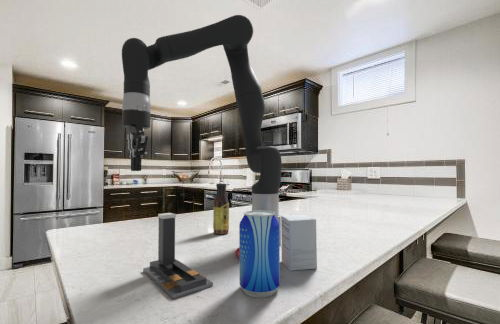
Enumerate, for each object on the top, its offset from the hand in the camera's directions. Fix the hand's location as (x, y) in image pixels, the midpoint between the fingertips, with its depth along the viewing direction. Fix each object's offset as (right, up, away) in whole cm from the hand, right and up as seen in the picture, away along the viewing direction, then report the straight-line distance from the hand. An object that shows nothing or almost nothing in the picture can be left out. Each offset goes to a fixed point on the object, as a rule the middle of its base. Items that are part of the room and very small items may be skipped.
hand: (135, 170), depth 74 cm
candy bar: (+34, -25, -4) cm, 43 cm away
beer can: (+35, -24, -20) cm, 47 cm away
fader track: (+16, -24, -14) cm, 32 cm away
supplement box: (+46, -25, -6) cm, 52 cm away
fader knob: (+12, -23, -10) cm, 28 cm away
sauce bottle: (+21, -26, +29) cm, 45 cm away
